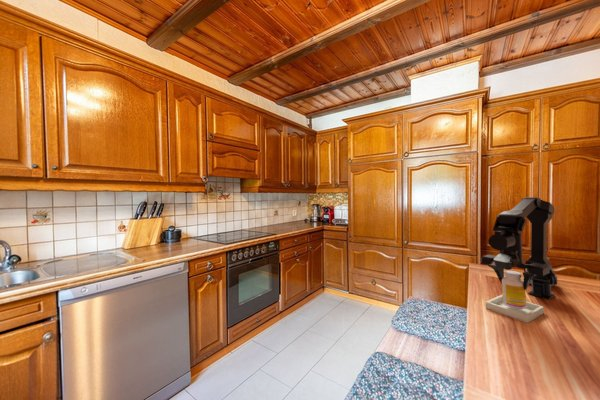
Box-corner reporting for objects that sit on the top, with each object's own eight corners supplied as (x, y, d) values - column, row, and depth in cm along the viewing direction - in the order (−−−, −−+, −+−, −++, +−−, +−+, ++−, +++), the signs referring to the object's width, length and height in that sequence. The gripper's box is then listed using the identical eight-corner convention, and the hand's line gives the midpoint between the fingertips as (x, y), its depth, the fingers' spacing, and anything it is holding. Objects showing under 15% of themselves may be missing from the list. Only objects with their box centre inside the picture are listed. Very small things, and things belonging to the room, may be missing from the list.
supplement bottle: (531, 310, 85) (529, 275, 84) (510, 309, 86) (508, 275, 86) (517, 302, 91) (516, 269, 91) (498, 301, 93) (497, 269, 92)
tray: (502, 300, 97) (502, 294, 97) (544, 313, 86) (543, 306, 86) (485, 308, 92) (485, 301, 92) (527, 323, 80) (527, 316, 80)
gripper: (472, 244, 93) (474, 283, 94) (534, 254, 76) (536, 301, 77) (487, 240, 98) (489, 277, 98) (549, 249, 81) (551, 293, 81)
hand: (513, 286), depth 89 cm, fingers closed on supplement bottle, 7 cm apart
